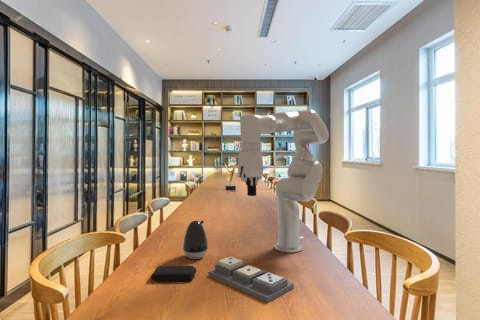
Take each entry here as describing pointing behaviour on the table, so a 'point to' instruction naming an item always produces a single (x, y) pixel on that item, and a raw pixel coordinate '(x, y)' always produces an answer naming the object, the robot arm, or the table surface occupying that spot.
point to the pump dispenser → (195, 241)
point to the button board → (250, 283)
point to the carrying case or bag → (173, 274)
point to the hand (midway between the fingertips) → (251, 195)
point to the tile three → (270, 279)
